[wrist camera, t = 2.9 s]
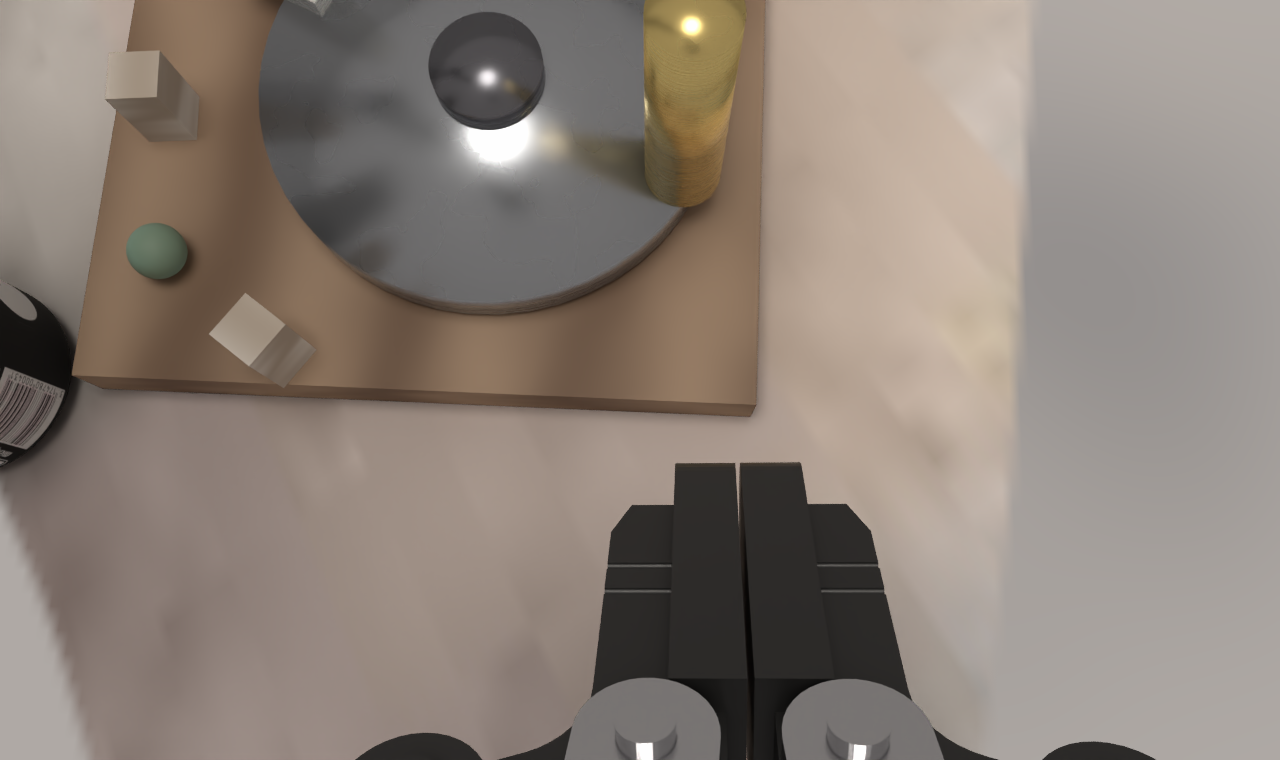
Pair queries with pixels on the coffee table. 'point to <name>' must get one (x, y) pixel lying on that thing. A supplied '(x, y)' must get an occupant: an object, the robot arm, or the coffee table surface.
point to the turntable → (354, 307)
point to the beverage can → (29, 371)
